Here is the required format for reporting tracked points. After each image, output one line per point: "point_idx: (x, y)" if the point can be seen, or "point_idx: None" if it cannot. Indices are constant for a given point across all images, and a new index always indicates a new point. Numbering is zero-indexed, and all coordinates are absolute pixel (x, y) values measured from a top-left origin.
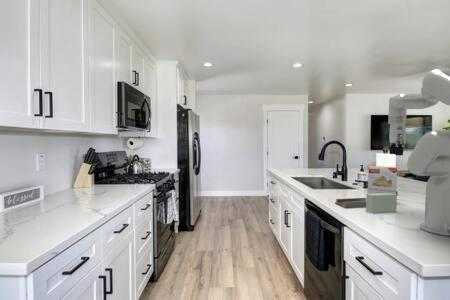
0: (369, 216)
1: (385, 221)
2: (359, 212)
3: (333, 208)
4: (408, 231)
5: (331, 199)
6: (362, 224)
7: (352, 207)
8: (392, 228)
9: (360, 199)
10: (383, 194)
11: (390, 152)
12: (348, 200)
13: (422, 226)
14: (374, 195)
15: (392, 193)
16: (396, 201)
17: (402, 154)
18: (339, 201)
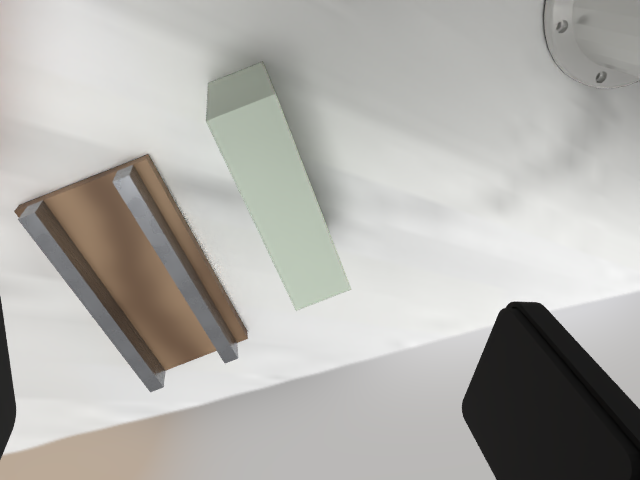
0: (392, 254)
1: (472, 206)
2: None
3: (261, 383)
4: (610, 160)
5: None
6: None
7: (230, 303)
8: (568, 211)
9: (67, 250)
10: (297, 205)
11: (2, 445)
12: (123, 323)
13: (606, 84)
14: (345, 275)
15: (232, 114)
16: (269, 80)
17: (540, 317)
18: (157, 367)
